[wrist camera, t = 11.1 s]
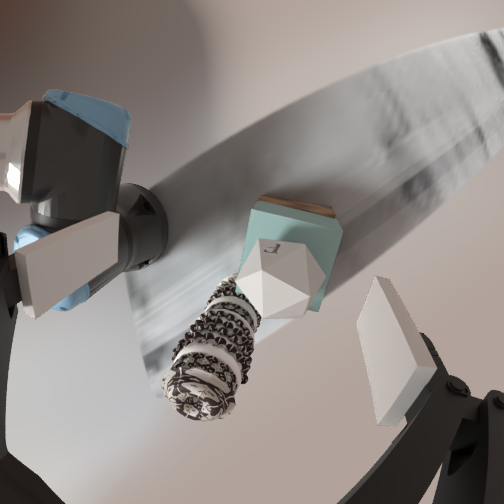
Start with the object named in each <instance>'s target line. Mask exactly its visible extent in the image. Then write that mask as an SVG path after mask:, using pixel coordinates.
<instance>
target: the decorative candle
mask: <svg viewBox="0 0 504 504" xmlns="http://www.w3.org/2000/svg"><path fill="white" fill-rule="evenodd" d="M237 276H238V274H233V275H231V276H228V277H226V278H224V280H223V281H222V282H221V283H220V284H219V286H217V287H216V289H217V290H215V291H214V292H213V293H214V295H212V296H211V297H210V300H209V301H208V302H207V305H208V306H207V307H206V308H205V312H204V313H203V314H201V315H200V317H199V318H198V319H197V320H196V321H195V325H191V326H190V330H189V331H190V332H187V333H185V336H184V339H182V340H180V341H179V342H178V348H175V349H174V350H173V354H174V356H173V357H172V362H173V366H172V368H171V369H170V370H169V371H168V372H167V373H166V374H165V375H164V376H163V381H162V388H163V391H164V393H165V396H166V397H167V398H168V400H169V401H170V404H171V405H172V406H173V407H174V409H175V410H176V411H177V412H179V413H180V414H182V415H184V416H185V417H187V418H190V419H193V420H197V421H210V420H215V419H221V418H224V417H226V416H227V415H229V414H231V413H232V411H233V409H234V407H235V405H236V404H235V399H234V395H235V394H236V392H237V389H238V387H239V384H240V381H241V380H242V381H241V384H245V383H246V382H247V381H248V376H247V374H246V373H247V372H248V370H249V369H250V363H251V361H252V358H251V357H250V355H251V354H252V352H253V350H254V348H253V344H254V342H255V341H254V333H255V332H256V331H257V329H256V328H257V327H259V325H260V321H261V315H260V314H259V313H258V311H257V310H256V309H255V308H254V306H253V305H252V304H251V302H250V301H249V300H248V298H247V297H246V296H245V294H241V293H238V292H235V290H236V285H237V284H236V283H235V280H236V278H237ZM183 346H185V347H184V348H183ZM244 362H245V364H244Z"/></svg>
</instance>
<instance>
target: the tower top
mask: <svg viewBox="0 0 504 504" xmlns="http://www.w3.org/2000/svg"><path fill="white" fill-rule="evenodd" d="M342 235H343V229H342V227H341V225H340V223H339V221H338V220H337V219H333V218H329V217H326V216H322V215H318V214H314V213H310V212H306V211H301V210H297V209H293V208H289V207H285V206H281V205H276V204H272V203H268V202H263V201H258V202H257V204H256V205H255V206H254V207H253V208H252V209H251V214H250V219H249V224H248V229H247V234H246V239H245V244H244V249H243V254H242V259H241V264H240V270H239V272H240V271H241V269H242V267H243V265H244V263H245V262H246V260H247V258H248V256H249V254H250V253H251V251H252V249H253V247H254V245H255V244H256V242H257V240H258V238H261V239H269V240H277V241H285V242H293V243H301V244H305V245H306V246H307V248H308V249H309V251H310V252H311V254H312V256H313V257H314V259H315V260H316V262H317V263H318V265H319V266H320V268H321V269H322V271H323V272H324V274H325V275H326V277H325V279H324V281H323V283H322V285H321V287H320V288H319V290H318V292H317V294H316V295H315V297H314V299H313V301H312V303H311V304H310V306H309V308H308V310H312V311H315V312H318V311H319V308H320V305H321V302H322V299H323V296H324V293H325V290H326V287H327V284H328V281H329V278H330V275H331V271H332V268H333V265H334V262H335V258H336V255H337V252H338V248H339V245H340V242H341V238H342ZM235 292H238V293H241V294H244V293H243V292H242V291H241V289H240V288H239V287H238V285H236V290H235Z"/></svg>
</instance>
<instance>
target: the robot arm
mask: <svg viewBox="0 0 504 504" xmlns="http://www.w3.org/2000/svg"><path fill="white" fill-rule="evenodd" d="M43 100H44V101H28V102H27V103H26V104H25V105H24V106H22V107H21V108H20V109H19V110H18V111H17V112H15V113H13V114H0V191H6V192H8V193H9V194H10V196H11V197H12V198H13V199H14V200H15V201H16V202H17V203H31V207H30V225H26V226H24V227H23V228H22V229H21V230H20V231H19V232H18V235H17V236H16V238H15V241H14V254H12V255H9V256H8V248H7V237H6V234H5V233H3V232H0V504H65V503H64V502H63V501H62V500H61V499H60V498H59V497H58V496H57V495H56V494H55V493H54V492H53V491H52V490H51V489H50V488H49V487H48V485H47V484H46V483H45V482H44V481H43V480H42V479H41V478H40V477H39V476H38V475H37V474H36V473H34V472H33V471H32V470H30V469H29V468H28V467H26V466H25V465H24V464H22V463H21V462H20V461H19V460H18V459H16V458H15V457H14V456H13V455H12V454H10V453H9V452H8V450H7V446H6V439H5V414H6V392H7V380H8V370H9V362H10V354H11V347H12V341H13V335H14V330H15V324H16V319H17V314H18V308H17V303H19V302H20V301H22V303H23V308H24V312H25V313H26V314H27V315H29V316H31V317H32V318H34V319H37V318H38V317H40V316H41V315H42V314H44V313H45V312H46V311H48V310H49V309H53V310H56V311H68V310H71V309H73V308H74V307H75V306H77V305H78V304H80V303H83V302H86V301H87V300H88V298H90V297H91V296H92V295H93V294H95V293H96V292H97V291H98V290H100V289H101V288H102V287H103V286H105V285H106V284H107V283H109V282H110V281H111V280H112V279H114V278H115V277H116V276H117V275H119V274H120V273H122V272H128V271H136V270H140V269H143V268H145V267H147V266H149V265H150V264H151V263H153V262H154V261H155V260H156V259H158V258H159V256H160V255H161V254H162V252H163V250H164V248H165V246H166V243H167V238H168V223H167V218H166V215H165V212H164V210H163V207H162V206H161V204H160V202H159V201H158V199H157V198H156V197H155V196H154V195H153V194H152V193H151V192H150V191H148V190H147V189H145V188H144V187H142V186H139V185H136V184H129V183H128V184H121V185H120V181H121V176H122V171H123V165H124V160H125V156H126V151H127V149H128V147H129V145H128V138H129V132H130V127H131V116H130V113H129V112H128V111H127V110H126V109H125V108H123V107H121V106H119V105H116V104H114V103H111V102H108V101H105V100H102V99H98V98H95V97H90V96H87V95H83V94H78V93H73V92H72V93H70V92H67V91H62V90H56V89H51V90H48V91H47V92H46V93H45V95H44V96H43ZM356 325H357V329H358V333H359V337H360V342H361V346H362V350H363V355H364V359H365V364H366V368H367V373H368V377H369V383H370V387H371V392H372V398H373V403H374V408H375V414H376V420H377V425H380V426H397V425H398V423H399V422H400V421H401V420H402V419H403V417H404V416H405V417H406V421H407V425H406V426H405V427H404V429H403V430H402V431H401V432H400V433H399V435H398V436H397V437H396V438H395V439H394V440H393V442H392V444H391V445H390V447H389V448H388V449H387V450H386V451H385V453H384V454H383V455H382V456H381V458H380V459H379V460H378V461H377V462H376V463H375V464H374V466H373V467H372V468H371V469H370V470H369V471H368V472H367V474H366V475H365V476H364V477H363V478H362V479H361V480H360V481H359V482H358V483H357V484H356V486H354V487H353V488H352V489H351V490H350V492H348V494H346V495H345V496H344V497H343V498H342V499H341V500H340V501H339V502H338V503H337V504H418V503H419V502H420V500H421V499H422V497H423V495H424V494H425V492H426V490H427V489H428V487H429V485H430V484H431V482H432V480H433V478H434V477H435V475H436V473H437V471H438V469H439V467H440V466H441V463H442V462H443V463H442V469H441V472H440V477H439V481H438V485H437V489H436V492H435V496H434V500H433V503H432V504H504V393H502V392H500V391H497V390H491V391H490V392H489V393H488V394H487V395H486V397H485V398H484V399H483V400H482V399H478V398H475V397H472V396H471V392H470V390H469V387H468V386H467V385H466V384H465V382H463V381H462V380H461V379H459V378H457V377H455V376H451V375H449V374H448V372H447V370H446V368H445V366H444V365H443V362H442V361H441V359H440V357H439V355H438V353H437V351H436V350H435V347H434V345H433V343H432V342H431V340H430V339H429V338H428V337H427V336H426V335H424V333H420V332H419V331H418V329H417V327H416V325H415V324H414V322H413V320H412V318H411V316H410V314H409V313H408V311H407V309H406V307H405V305H404V304H403V302H402V300H401V298H400V297H399V295H398V293H397V292H396V290H395V288H394V287H393V285H392V283H391V281H390V280H389V279H387V278H383V277H379V276H375V277H374V280H373V283H372V286H371V288H370V291H369V293H368V296H367V299H366V301H365V304H364V307H363V309H362V311H361V314H360V316H359V319H358V321H357V324H356Z"/></svg>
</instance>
